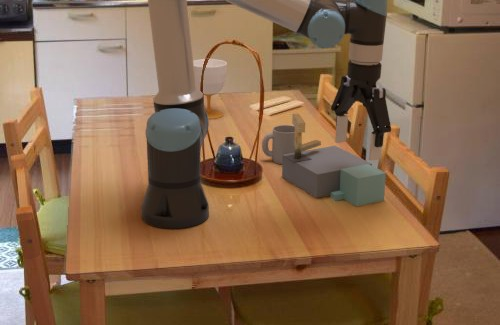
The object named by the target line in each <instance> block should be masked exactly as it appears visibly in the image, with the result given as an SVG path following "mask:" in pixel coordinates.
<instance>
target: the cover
mask: <svg viewBox="0 0 500 325" xmlns="http://www.w3.org/2000/svg"><path fill="white" fill-rule="evenodd" d="M386 177H387V172H384V171H383V170H381V169H379V168H378V167H376V166H373V165H372V166H371V165H369V164H366V165H360V166H355V167H349V168H344V169H341V174H340V191H336V192H331V195H330V199H331V200H333V201H334V202H337V201H342V200H344V201H346V202H347V203H350V204H351V205H353V206H355V207H360V206H365V205H370V204H375V203H380V202H383V201H385V193H386V192H385V190H386Z"/></svg>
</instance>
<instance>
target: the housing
mask: <svg viewBox="0 0 500 325" xmlns="http://www.w3.org/2000/svg"><path fill="white" fill-rule="evenodd" d="M366 164H369V165H371V166H373V163H370V162H369V161H367V160H365V159H363V158H361V157H359V156H358V155H357V156H356V154H354V153H351V152H350V151H349V152H348V151H347V150H345V149H343V148H341V147H339V146H338V145H331V146H325V147H320V148H314V149H313V148H312V149H308V150H306V151H303V152H301V158H294V153H290V154H284V155H283V158H282V164H281V165H282V166H281V170H282V171H281V172H282V173H281V177H282V178H283V179H285V180H286V181H288V182H290V184H293V185H295V186H296V187H298V188H300V189H301V190H302V191H304V192H306V193H308V194H309V195H311V196H312V197H314V198H315V199H318V198H322V197H328V196H331V192H336V191H340V174H341V169H344V168H349V167H355V166H360V165H366Z"/></svg>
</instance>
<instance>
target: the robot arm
mask: <svg viewBox="0 0 500 325" xmlns="http://www.w3.org/2000/svg"><path fill="white" fill-rule="evenodd" d="M224 1H226V2H228V3H229V4H232V5H234V6H236V7H238V8H241V9H243V10H244V11H245V10H246V11H247V12H250V13H252V14H254V15H257V16H259V17H261V18H262V19H266V20H267V21H270V22H272V23H275V24H277V25H279V26H281V27H283V28H286V29H287V30H290V31H293V32H294V33H297V34H298V35H300V36H303V37H304V38H306V39H309V40H310V41H311V42H312V43H313V44H314V45H315V46H317V47H319V48H323V49H327V48H333V47H335V46H337V45H338V44H339V43H341V41H342V39H344V36H345V35H350V38H349V45H348V46H349V47H348V55H347V56H348V60H349V61H348V62H347V73H346V75H343V76H341V78H340V85H339V88H338V90H337V92H336V94H335V96H334V100H333V102H332V104H331V106H330V107H331V108H330V109H331V111H333V112H334V113H335V115H336V119H335V121H336V122H335V128H336V129H335V137H334V139H335V140H334V142H335V143H336V144H339V143H346V142H347V136H348V125H349V115H348V114H349V111H350V109H351V108H352V107H353V106H354V104H355V102H357V101H358V102H359V103H361V104H362V105H363V107H365V109H366V112H367V115H368V118H369V121H370V123H371V126H372V130H373V131H371V133H370V144H369V152H368V160H369V161H376V160H381V158H382V157H381V156H382V155H381V154H382V147H383V145H384V138H385V133H391V132H392V126H391V120H390V116H389V110H388V105H387V100H386V98H387V97H386V95H387V94H386V93H387V92H386V90H387V89H386V88H385V87H382V88H381V87H379V88H378V87H377V82H378V81H379V80H380V79H381V76H382V75H381V74H382V63H381V62H382V61H383V55H384V54H383V53H384V40H385V35H386V26H387V18H388V17H387V16H388V12H387V10H388V0H224ZM147 3H148V4H147V5H148V14H149V21H150V22H149V23H150V29H151V37H152V44H153V54H154V62H155V70H156V79H157V86H158V92H157V93H156V94H155V96H154V97H153V100H152V101H153V109H154V113H152V114H151V115H150V116H149V117H148V119H147V121H146V126H145V127H146V128H145V138H146V153H147V154H146V155H147V156H146V157H147V180H148V182H147V184H148V185H147V188H146V192H145V194H144V198H143V202H142V205H141V207H140V208H141V219H142V220H143V222H144V223H147V224H148V225H150V226H153V227H156V228H161V229H184V228H185V229H186V228H191V227H195V226H197V225H200V224H202V223H203V222H205V221H206V220H208V218H209V217H210V207H209V206H210V205H209V202H208V200H207V196H206V194H205V191H204V188H203V186H202V181H201V180H202V179H201V173H202V172H201V168H202V167H201V150H202V146H203V144H204V140H205V138H206V137H207V135H208V131H209V125H210V124H209V121H210V120H209V119H208V116H207V112H206V111H207V109H206V108H205V102H204V101H205V100H204V95H203V93H202V92H201V91H199V90H198V89H197V88H196V85H195V75H194V66H193V61H194V60H193V48H192V38H191V31H190V30H191V29H190V28H191V27H190V19H189V9H188V0H147Z"/></svg>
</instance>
